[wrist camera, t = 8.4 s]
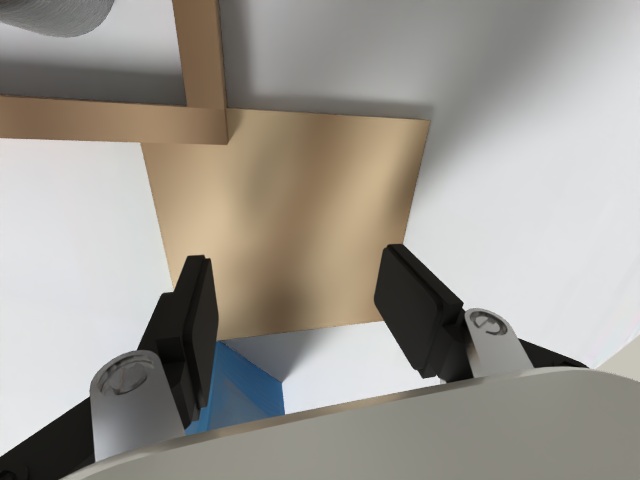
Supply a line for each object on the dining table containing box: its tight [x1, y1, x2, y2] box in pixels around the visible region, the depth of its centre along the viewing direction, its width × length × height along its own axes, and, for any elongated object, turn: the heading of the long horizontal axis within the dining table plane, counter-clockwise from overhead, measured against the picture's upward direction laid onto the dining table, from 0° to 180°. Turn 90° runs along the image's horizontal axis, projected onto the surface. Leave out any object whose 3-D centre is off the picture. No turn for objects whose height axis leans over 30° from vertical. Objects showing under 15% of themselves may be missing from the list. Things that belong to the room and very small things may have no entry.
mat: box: [137, 102, 430, 341], centre depth 14 cm, size 12×12×1 cm
